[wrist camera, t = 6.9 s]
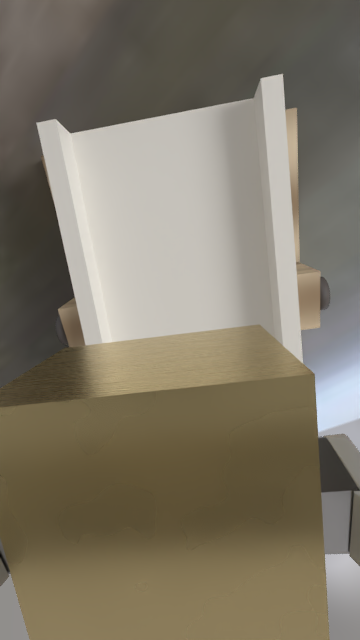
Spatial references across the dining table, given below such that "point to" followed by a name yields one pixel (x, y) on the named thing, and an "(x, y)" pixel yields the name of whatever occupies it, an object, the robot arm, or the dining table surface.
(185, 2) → the dining table surface
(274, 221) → the beam
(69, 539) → the block
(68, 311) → the stand
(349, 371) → the dining table surface
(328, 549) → the robot arm
